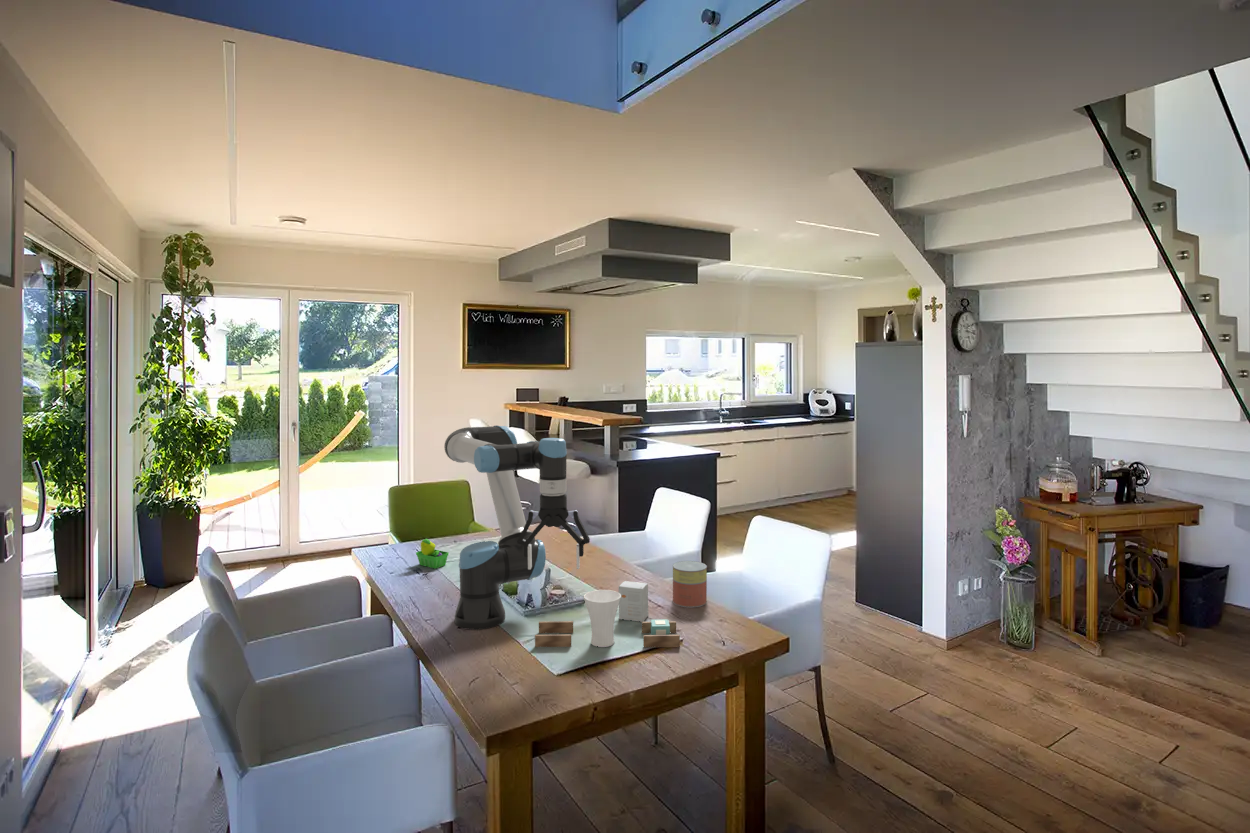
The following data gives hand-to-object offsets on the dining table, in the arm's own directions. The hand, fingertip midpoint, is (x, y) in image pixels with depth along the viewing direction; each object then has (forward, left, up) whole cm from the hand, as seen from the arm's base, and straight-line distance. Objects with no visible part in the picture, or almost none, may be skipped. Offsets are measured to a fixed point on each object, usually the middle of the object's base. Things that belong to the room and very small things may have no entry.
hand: (554, 568), depth 191 cm
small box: (+23, +16, -21) cm, 35 cm away
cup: (+14, -3, -21) cm, 25 cm away
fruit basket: (-54, +73, -21) cm, 93 cm away
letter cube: (+30, -1, -21) cm, 37 cm away
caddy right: (+30, -1, -21) cm, 36 cm away
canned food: (+42, +30, -21) cm, 56 cm away
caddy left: (0, 0, -21) cm, 21 cm away
